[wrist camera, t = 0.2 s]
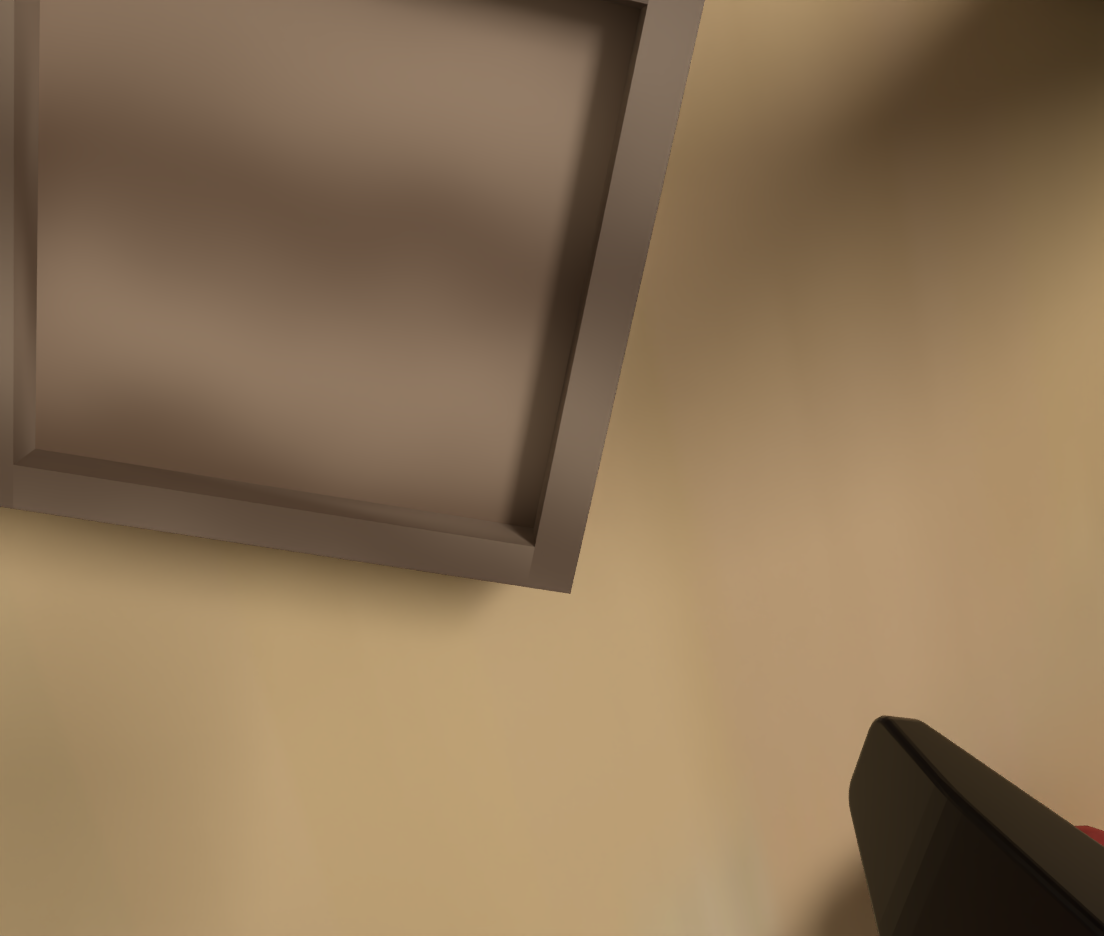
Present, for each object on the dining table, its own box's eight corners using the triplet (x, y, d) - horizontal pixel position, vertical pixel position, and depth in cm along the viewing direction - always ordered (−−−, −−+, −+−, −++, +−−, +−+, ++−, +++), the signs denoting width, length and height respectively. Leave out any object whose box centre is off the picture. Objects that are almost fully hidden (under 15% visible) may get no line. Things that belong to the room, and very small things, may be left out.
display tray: (562, 537, 24) (570, 593, 22) (29, 452, 23) (-37, 500, 20) (685, -24, 20) (714, -45, 17) (34, -173, 19) (-50, -222, 16)
